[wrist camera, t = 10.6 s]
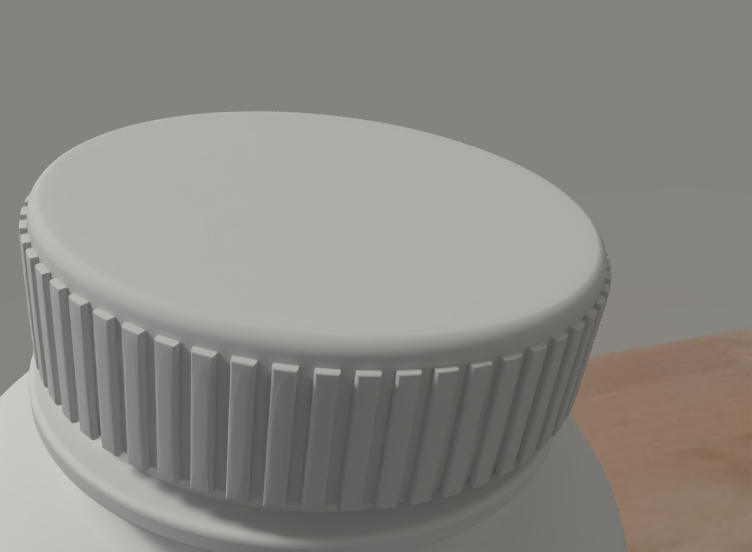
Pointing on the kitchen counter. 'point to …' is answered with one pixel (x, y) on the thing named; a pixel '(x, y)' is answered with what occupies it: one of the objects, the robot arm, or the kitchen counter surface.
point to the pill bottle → (302, 346)
